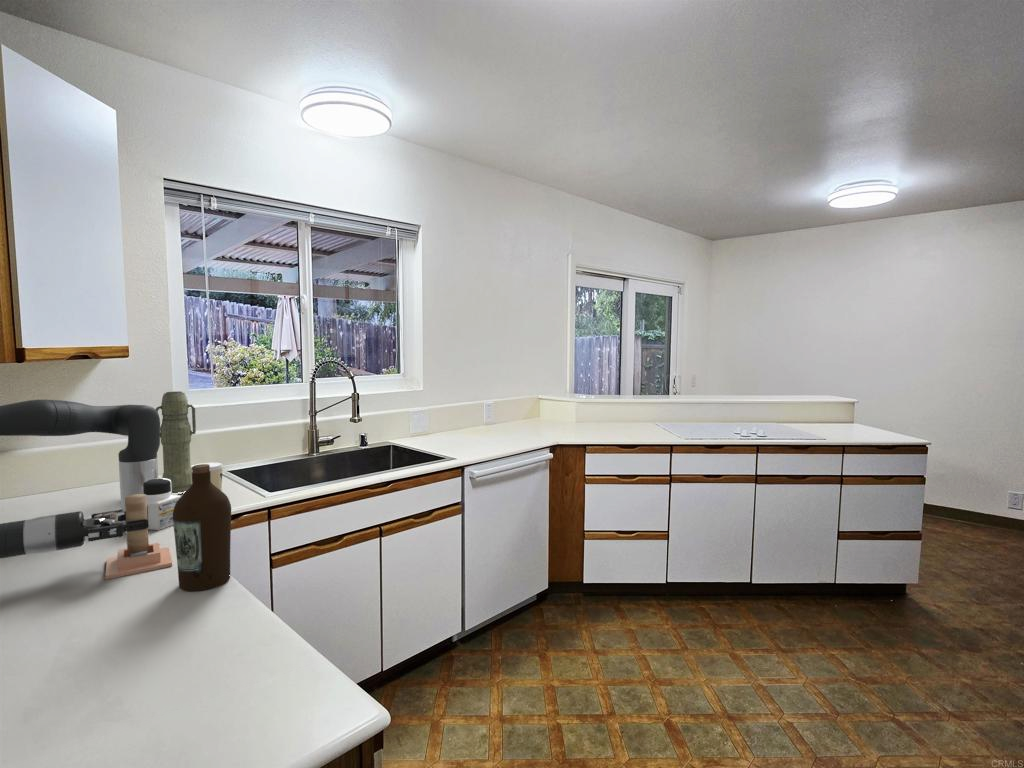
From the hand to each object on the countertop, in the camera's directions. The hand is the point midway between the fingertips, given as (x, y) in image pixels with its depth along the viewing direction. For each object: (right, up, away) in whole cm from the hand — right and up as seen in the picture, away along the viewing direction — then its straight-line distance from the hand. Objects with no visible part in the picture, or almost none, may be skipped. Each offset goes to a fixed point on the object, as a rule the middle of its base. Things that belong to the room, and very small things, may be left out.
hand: (147, 518), depth 121 cm
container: (-15, -9, +27) cm, 32 cm away
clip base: (-2, -10, -1) cm, 10 cm away
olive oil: (+19, -11, -10) cm, 24 cm away
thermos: (-32, -7, +61) cm, 70 cm away
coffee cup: (-15, -7, +50) cm, 53 cm away
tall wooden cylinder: (-2, -10, -1) cm, 10 cm away
